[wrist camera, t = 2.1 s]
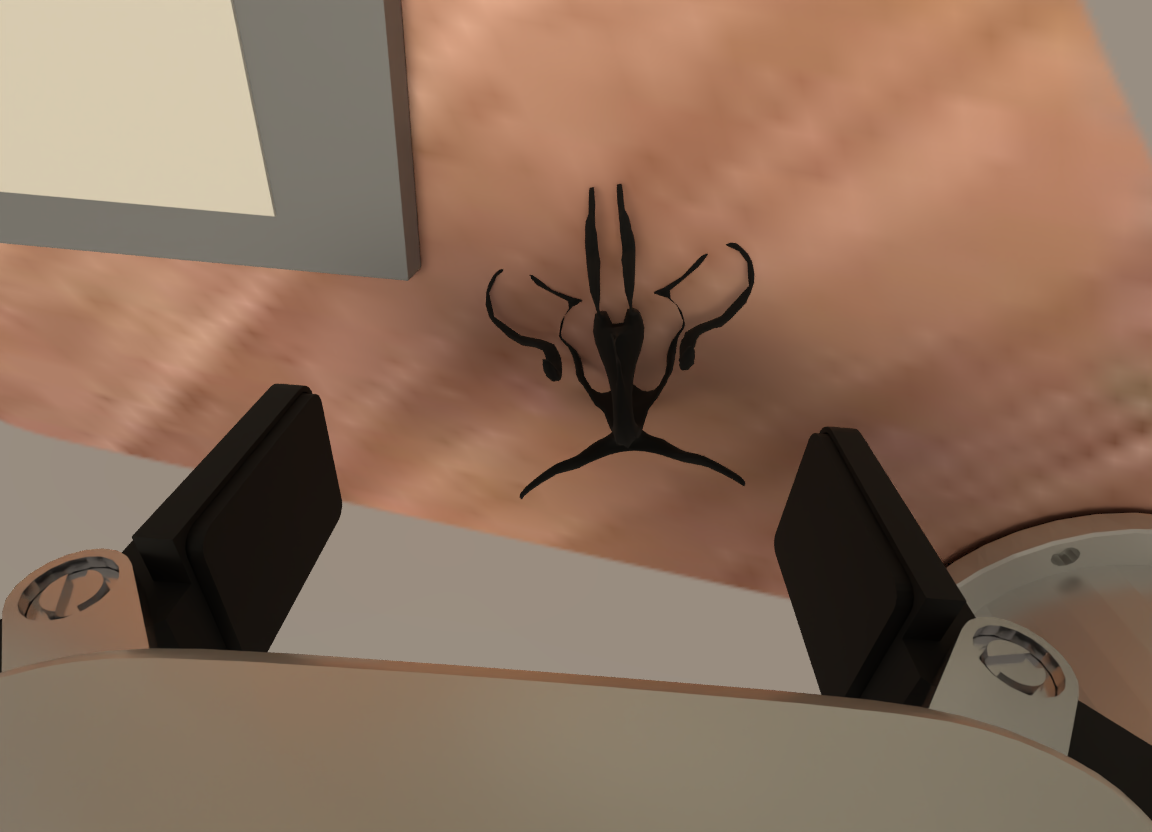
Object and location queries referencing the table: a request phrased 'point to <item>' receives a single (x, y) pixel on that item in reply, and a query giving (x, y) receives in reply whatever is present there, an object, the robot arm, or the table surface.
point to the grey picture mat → (210, 132)
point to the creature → (623, 357)
